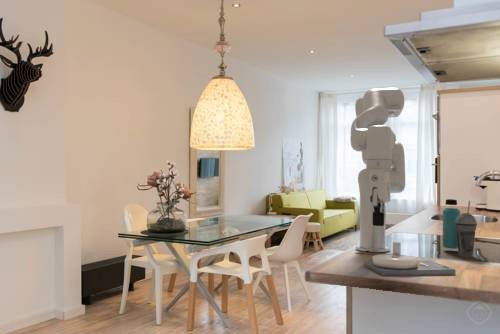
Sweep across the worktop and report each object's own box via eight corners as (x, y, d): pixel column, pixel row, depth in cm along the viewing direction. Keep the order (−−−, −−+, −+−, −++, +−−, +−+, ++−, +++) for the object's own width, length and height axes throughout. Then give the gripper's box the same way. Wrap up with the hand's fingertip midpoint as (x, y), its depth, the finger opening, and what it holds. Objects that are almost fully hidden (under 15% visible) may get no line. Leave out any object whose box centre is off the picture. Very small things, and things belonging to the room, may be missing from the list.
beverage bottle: (462, 253, 173) (463, 199, 173) (444, 252, 174) (444, 199, 174) (458, 250, 179) (458, 199, 179) (440, 249, 180) (440, 198, 181)
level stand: (363, 265, 145) (363, 260, 145) (429, 264, 148) (429, 259, 148) (382, 275, 130) (382, 269, 130) (455, 274, 133) (455, 268, 133)
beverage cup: (453, 254, 170) (454, 200, 170) (475, 255, 168) (475, 200, 168) (455, 257, 163) (455, 200, 164) (478, 258, 161) (478, 201, 161)
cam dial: (416, 270, 130) (416, 249, 130) (369, 266, 135) (369, 245, 135) (418, 262, 142) (419, 243, 142) (375, 259, 147) (375, 240, 147)
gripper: (386, 164, 133) (385, 228, 132) (395, 167, 146) (395, 224, 145) (360, 164, 137) (359, 226, 136) (372, 167, 150) (371, 223, 149)
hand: (378, 225), depth 141 cm, fingers closed
